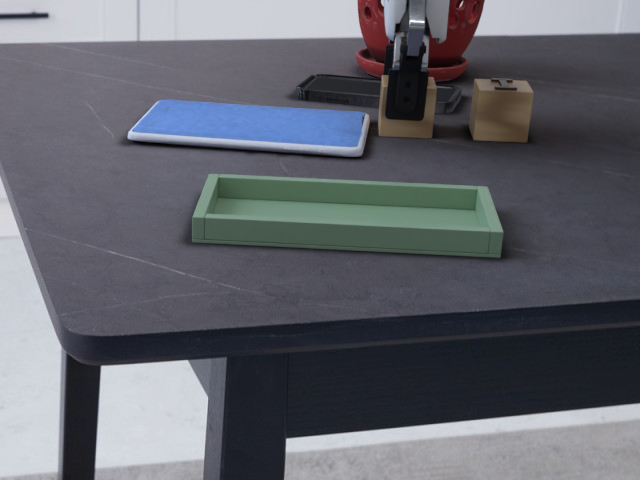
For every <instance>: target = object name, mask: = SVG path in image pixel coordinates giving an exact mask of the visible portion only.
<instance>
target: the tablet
mask: <svg viewBox="0 0 640 480" xmlns="http://www.w3.org/2000/svg"><path fill="white" fill-rule="evenodd" d="M370 123H371V120H370V115H369V114H368V113H366V112H363V111H354V110H335V109H321V108H320V109H319V108H302V107H287V106H272V105H257V104H255V105H254V104H241V103H240V104H239V103H223V102H210V101H194V100H181V99H165V98H164V99H160V100H158V101H156V102H155V103H154V104H153V105H152V107H150V109H149V110H147V111H146V113H145V114H143V116H142V117H141V118H140V119H139V120H138V121H137V123H135V124H134V125H133V126H132V127H131V128H130V130H128V132H127V139H128V140H130V141H135V142H143V143H157V144H167V145H180V146H192V147H204V148H216V149H217V148H218V149H228V150H229V149H230V150H246V151H257V152H258V151H259V152H272V153H275V152H276V153H285V154H300V155H301V154H302V155H313V156H314V155H315V156H328V157H342V158H359V157H362V156H363V154H364V150H365V146H366V141H367V138H368V132H369V128H370Z"/></svg>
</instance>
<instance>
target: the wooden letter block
mask: <svg viewBox="0 0 640 480" xmlns="http://www.w3.org/2000/svg"><path fill="white" fill-rule="evenodd" d="M534 95H535V92H534V90H533V89H532V87H531V85H530V84H529V82H528V81H527V80H518V79H517V80H514V79H513V78H499V77H497V78H496V77H491V78H474V80H473V86H472V96H471V97H472V98H471V105H470V115H469V124H468V128H469V131H470V134H471V137H472V140H473V141H481V142H482V141H483V142H485V141H486V142H503V143H504V142H508V143H511V142H512V143H528V138H529V131H530V125H531V118H532V117H531V116H532V109H533V102H534V97H535V96H534Z"/></svg>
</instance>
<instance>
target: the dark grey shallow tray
mask: <svg viewBox="0 0 640 480" xmlns="http://www.w3.org/2000/svg"><path fill="white" fill-rule="evenodd" d="M435 84H436V88H437V93H436V103H435V113H434V114H450V113H453V111H454V110H455V108H456V107H457V105H458V104H459V102H460V101H461V99H462V92H463V87H461V86H459V85H452V84H444V83H443V84H441V83H435ZM380 91H381V78H377V77H365V76H364V77H363V76H352V75H340V74H330V73H329V74H328V73H314V74H311V75H309V76H308V77H307V78H306V79H304V80H302V82H300V83H299V84H298V85H297V86H296V87H295V98H296V99H297V100H300V101H306V102H315V103H327V104H336V105H337V104H338V105H346V106H347V105H349V106H358V107H368V108H378V109H379V104H380Z"/></svg>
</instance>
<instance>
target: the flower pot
mask: <svg viewBox="0 0 640 480" xmlns="http://www.w3.org/2000/svg"><path fill="white" fill-rule="evenodd" d="M485 1H486V0H450V1H449V12H448V23H447V36H446V40H445V41H444V42H442V43H441V44H438V43H437V41H436V38H432V35H431V32H430V39H429V53H428V68H427V71H429V77H433V78H434V81H435V84H437V83H446V82H450V81H452V80H455V79H457V78H460V76H461V75H463V73H464V72H465V71H466V70H467V68H468V63H469V62H468V59H467V58H465V57H464V56H463V54H464V53H465V51H466V50H467V49H468V47H469V45H471V42H472V41H473V38H474V36H475V34H476V32H477V29H478V27H479V24H480V21H481V18H482V14H483V11H484V5H485ZM357 14H358V15H357V17H358V23H359V28H360V33H361V36H362V38H363V41H364V44H365V46H366V47H365V48H362V49H359V50H358V51H357V52H356V54H355V58H356V62H357V64H358V67H360V69H362V71H364V72H365V73H366V74H368V75H369V76H372V77H373V78H376V79H381V78H382V75H383V72H384V62H385V51H386V45H394V44H389V38H388V37H387V35H386V30H385V19H384V4H382V0H357Z"/></svg>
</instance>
